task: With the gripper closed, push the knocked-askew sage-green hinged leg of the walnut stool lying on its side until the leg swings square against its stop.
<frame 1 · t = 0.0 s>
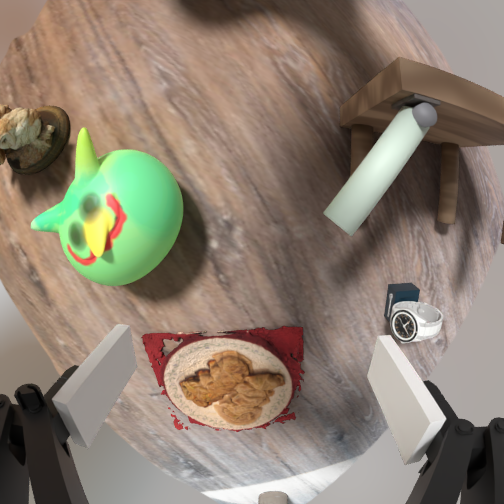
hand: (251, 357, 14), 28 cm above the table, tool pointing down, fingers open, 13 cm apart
plate with food: (230, 384, 49), on the table
toy bird: (137, 209, 41), on the table
watch: (396, 299, 43), on the table
stool: (402, 127, 36), on the table
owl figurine: (36, 141, 39), on the table
thermos bottle: (272, 496, 59), on the table
hinged leg: (383, 163, 21), point 18 cm above the table, hinge at -35.0°
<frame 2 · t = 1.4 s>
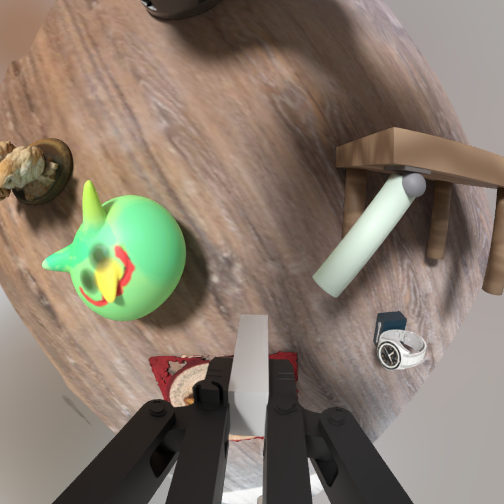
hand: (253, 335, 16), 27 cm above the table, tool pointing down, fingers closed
plate with food: (230, 400, 52), on the table
toy bird: (142, 244, 44), on the table
watch: (385, 326, 46), on the table
stool: (397, 164, 39), on the table
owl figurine: (39, 173, 41), on the table
thermos bottle: (270, 498, 63), on the table
hinged leg: (370, 230, 24), point 18 cm above the table, hinge at -35.0°
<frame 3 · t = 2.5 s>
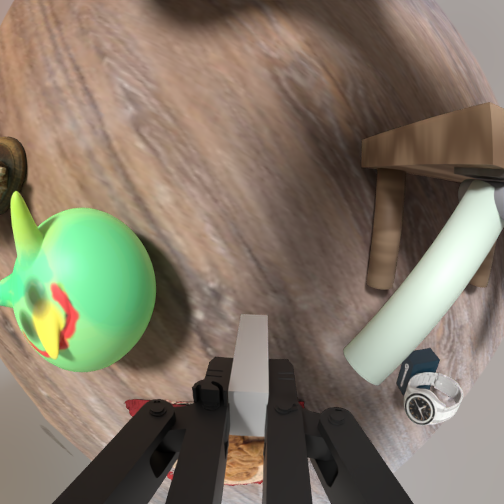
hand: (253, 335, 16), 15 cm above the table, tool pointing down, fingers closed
plate with food: (223, 446, 41), on the table
toy bird: (106, 269, 33), on the table
watch: (412, 365, 35), on the table
stool: (437, 165, 28), on the table
hinged leg: (440, 276, 13), point 18 cm above the table, hinge at -35.0°
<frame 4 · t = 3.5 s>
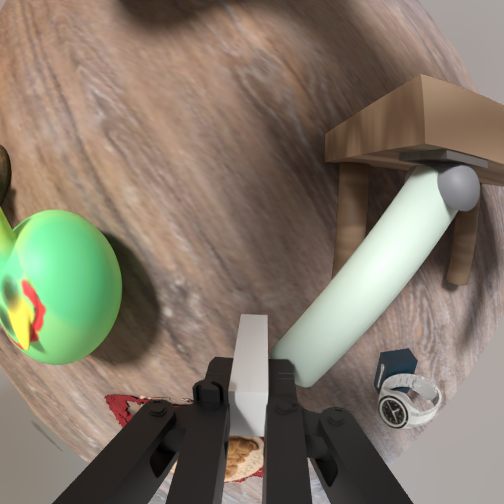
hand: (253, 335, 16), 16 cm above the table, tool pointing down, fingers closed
plate with food: (202, 443, 41), on the table
toy bird: (82, 267, 33), on the table
watch: (390, 366, 35), on the table
stool: (409, 158, 28), on the table
hinged leg: (376, 272, 13), point 18 cm above the table, hinge at -35.0°, touching gripper
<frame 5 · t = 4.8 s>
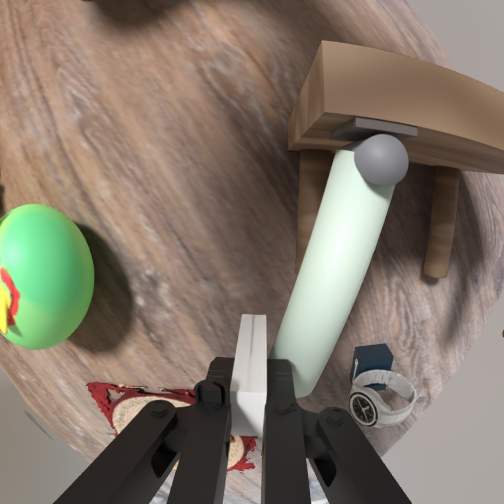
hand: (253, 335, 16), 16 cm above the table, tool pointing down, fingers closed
plate with food: (181, 433, 42), on the table
toy bird: (62, 258, 33), on the table
watch: (366, 361, 35), on the table
stool: (379, 144, 28), on the table
hinged leg: (331, 274, 13), point 18 cm above the table, hinge at -14.1°, touching gripper
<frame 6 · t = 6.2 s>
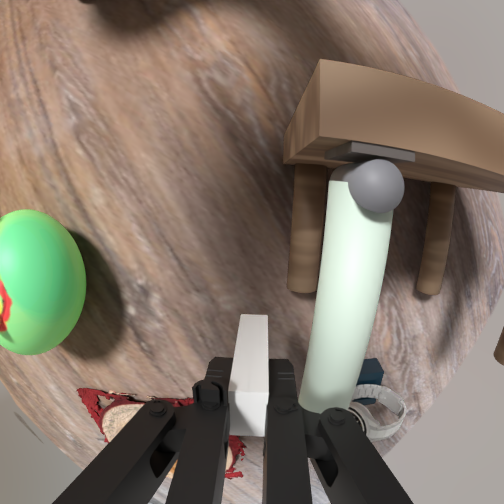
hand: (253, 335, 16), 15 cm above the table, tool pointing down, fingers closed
plate with food: (170, 441, 41), on the table
toy bird: (55, 264, 33), on the table
watch: (356, 375, 35), on the table
stool: (376, 159, 28), on the table
hinged leg: (346, 302, 13), point 18 cm above the table, hinge at -0.8°
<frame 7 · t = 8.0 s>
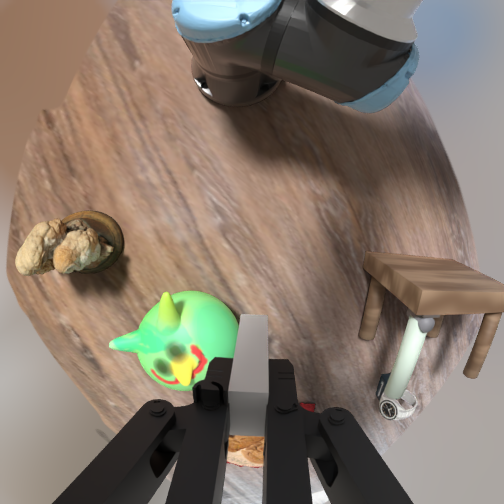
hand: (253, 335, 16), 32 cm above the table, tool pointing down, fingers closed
plate with food: (255, 436, 59), on the table
toy bird: (193, 321, 52), on the table
watch: (386, 382, 54), on the table
stool: (411, 263, 48), on the table
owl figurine: (85, 242, 49), on the table
hinged leg: (408, 355, 33), point 17 cm above the table, hinge at -0.8°
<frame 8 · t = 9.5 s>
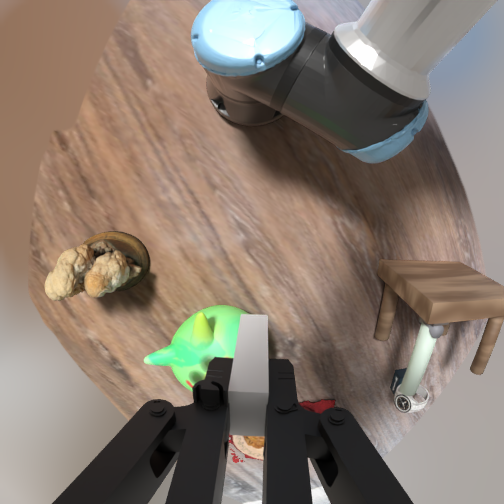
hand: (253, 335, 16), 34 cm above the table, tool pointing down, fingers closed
plate with food: (279, 433, 63), on the table
toy bird: (220, 330, 55), on the table
watch: (400, 377, 57), on the table
stool: (422, 268, 50), on the table
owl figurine: (110, 261, 53), on the table
hinged leg: (420, 357, 36), point 18 cm above the table, hinge at -0.8°
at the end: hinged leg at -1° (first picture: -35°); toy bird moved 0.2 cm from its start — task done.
